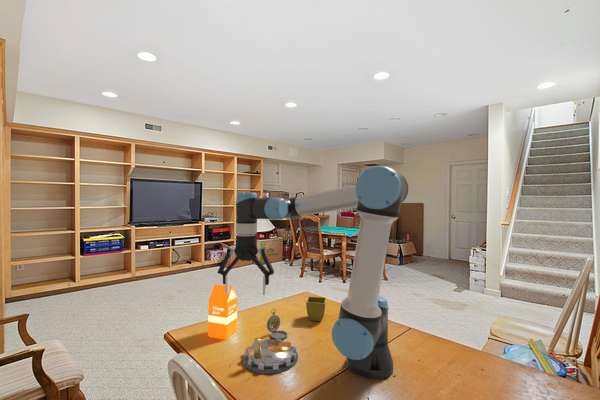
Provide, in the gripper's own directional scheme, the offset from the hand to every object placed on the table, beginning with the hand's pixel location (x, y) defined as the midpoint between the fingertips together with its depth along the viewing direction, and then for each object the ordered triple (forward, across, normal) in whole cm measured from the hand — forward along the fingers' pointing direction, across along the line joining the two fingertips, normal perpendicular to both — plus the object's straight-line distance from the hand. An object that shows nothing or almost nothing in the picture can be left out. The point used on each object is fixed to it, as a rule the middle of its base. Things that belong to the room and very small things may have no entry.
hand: (245, 293), depth 104 cm
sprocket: (+21, -10, +4) cm, 23 cm away
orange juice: (+21, +13, -13) cm, 28 cm away
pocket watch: (+21, -10, -13) cm, 27 cm away
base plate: (+21, -10, +4) cm, 23 cm away
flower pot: (+21, -26, -32) cm, 46 cm away
